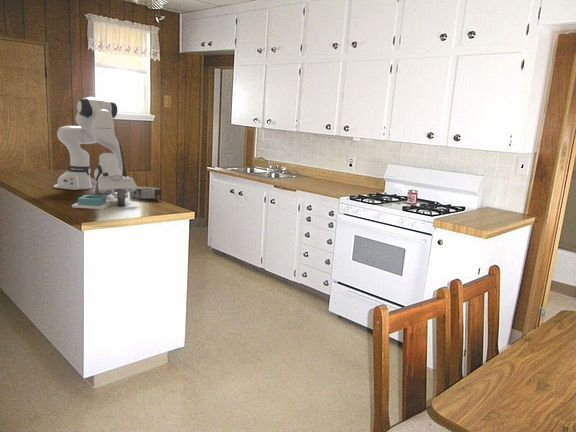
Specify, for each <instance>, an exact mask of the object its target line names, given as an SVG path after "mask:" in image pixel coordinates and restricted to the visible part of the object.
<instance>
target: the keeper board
mask: <svg viewBox="0 0 576 432" xmlns="http://www.w3.org/2000/svg"><path fill="white" fill-rule="evenodd" d="M111 205H113V203H112V201H107V196H106V195H98V194H94V195H93V194H84V195H82V196H80V197H77V202H75V203H74V204H71V208H74V209H75V208H76V209H77V208H78V209H92V210H105V209H106V208H108V207H110V206H111ZM104 208H105V209H104Z"/></svg>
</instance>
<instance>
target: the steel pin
mask: <svg viewBox="0 0 576 432" xmlns="http://www.w3.org/2000/svg"><path fill="white" fill-rule="evenodd" d="M116 194H118V198H116V199H117V201H116V202H117V204H116V205H117V207H118V208H119V207H122V208H124V207H126V198H125V194H126V193H125V190H124V189H118V190H117V192H116Z"/></svg>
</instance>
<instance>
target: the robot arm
mask: <svg viewBox="0 0 576 432" xmlns="http://www.w3.org/2000/svg"><path fill="white" fill-rule="evenodd" d="M76 109H77V112H76V115H75V123H76V124H77V125H63V126H60V127H59V128H58V129H57V132H56V135H57V139H58V140H59V142H61V143H63V145H64V146H65V147H66V149H67V150H68V153H69V158H70V159H69V160H70V161H69V163H70V164H69V165H68V166H66V169H67V171H66V172H64V173H62V174H61V175H60V176H59V177H58V179H57V184H54V185H53V188H54V189H64V190H74V191H75V190H88V189H93V185H92V180H91V172H92V171H91V166H90V154H89V152H88V151H86V150H85V149H83V148H82V147H81V145H82V144H83V145H92V144H99V145H101V146H103V147H105V148H107V149H109V150H110V151H111V152H103V153H101V154H100V155H99V157H98V160H99V162H98V164H97V166H96V167H95V170H94V169H93V173H92V174H93V178H94V180H95V181H96V183H97V182H98V189H99V192H101V193H110V195H111V196H113V198H114V199H117V198H118V194H117V190H118V189H124V190H125V199H127V198H129V193H130V192H131V191H135V190H136V188H137V186H138V185H137V184H136V182H135V180H134V178H133V177H131V176H128V171H127V168H126V164H125V160H124V155H123V154H124V153H123V150H122V145H121V144H122V143H121V142H120V140H119V139H118V138H117V137H116V136H117V135H115V128H114V127H115V125H114V118H116V117H117V114H118V106H117V104H116V102H114V101H113V100H106V99H102V98H95V97H93V96H88V97H81V98H79V99H78V101H77V103H76Z"/></svg>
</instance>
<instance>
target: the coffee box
mask: <svg viewBox="0 0 576 432" xmlns="http://www.w3.org/2000/svg"><path fill="white" fill-rule="evenodd" d="M136 186H137V188H136V190H135V191H131V192H129V198H131V199H137V200H138V199H139V200H144V201H154V202H155V201H159V200H161V199H162V188H157V187H148V186H140V185H136Z"/></svg>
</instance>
